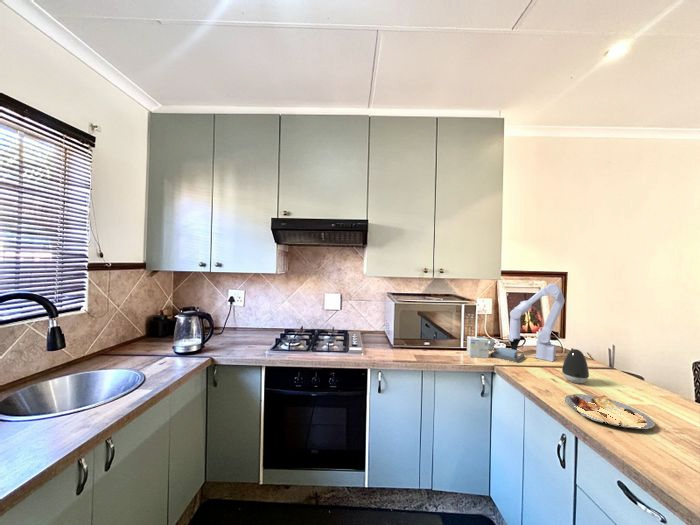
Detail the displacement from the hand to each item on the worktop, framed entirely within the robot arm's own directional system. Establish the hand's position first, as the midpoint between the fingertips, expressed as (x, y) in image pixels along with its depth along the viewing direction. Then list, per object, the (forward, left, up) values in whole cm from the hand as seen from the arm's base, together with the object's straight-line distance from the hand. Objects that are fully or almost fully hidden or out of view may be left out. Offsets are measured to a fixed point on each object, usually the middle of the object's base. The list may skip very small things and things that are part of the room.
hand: (514, 351), depth 189 cm
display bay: (0, +13, -1) cm, 13 cm away
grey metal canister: (+13, +3, -1) cm, 14 cm away
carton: (0, +13, -2) cm, 13 cm away
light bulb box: (+13, +24, -2) cm, 28 cm away
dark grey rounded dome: (-34, +28, -1) cm, 44 cm away
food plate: (-47, +60, -2) cm, 76 cm away
